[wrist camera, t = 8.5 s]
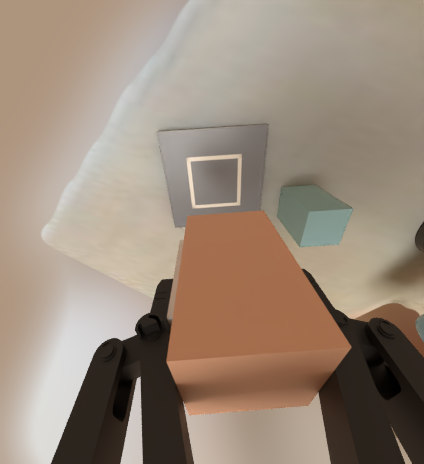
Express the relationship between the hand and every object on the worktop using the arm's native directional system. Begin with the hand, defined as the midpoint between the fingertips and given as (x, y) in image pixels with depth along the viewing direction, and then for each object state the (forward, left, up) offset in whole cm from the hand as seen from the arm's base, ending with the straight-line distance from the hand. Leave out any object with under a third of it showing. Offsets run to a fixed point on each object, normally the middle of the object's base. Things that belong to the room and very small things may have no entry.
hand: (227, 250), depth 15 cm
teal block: (-15, +5, -19) cm, 25 cm away
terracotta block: (0, 0, -1) cm, 1 cm away
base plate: (0, 0, -19) cm, 19 cm away
